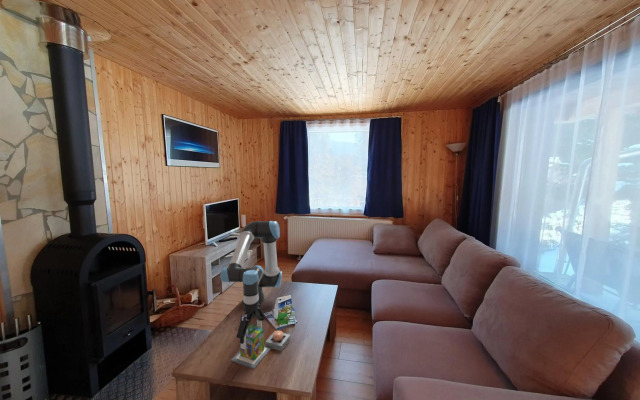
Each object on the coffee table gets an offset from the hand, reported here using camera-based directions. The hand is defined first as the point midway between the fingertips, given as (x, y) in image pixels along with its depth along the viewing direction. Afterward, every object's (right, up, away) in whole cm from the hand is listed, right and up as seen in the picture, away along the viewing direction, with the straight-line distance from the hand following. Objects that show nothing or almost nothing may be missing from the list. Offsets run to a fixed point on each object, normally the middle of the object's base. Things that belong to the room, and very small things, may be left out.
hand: (251, 339), depth 127 cm
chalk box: (0, -7, +1) cm, 7 cm away
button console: (+12, -7, +10) cm, 17 cm away
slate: (0, -8, 0) cm, 8 cm away
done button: (+12, -4, +9) cm, 16 cm away
